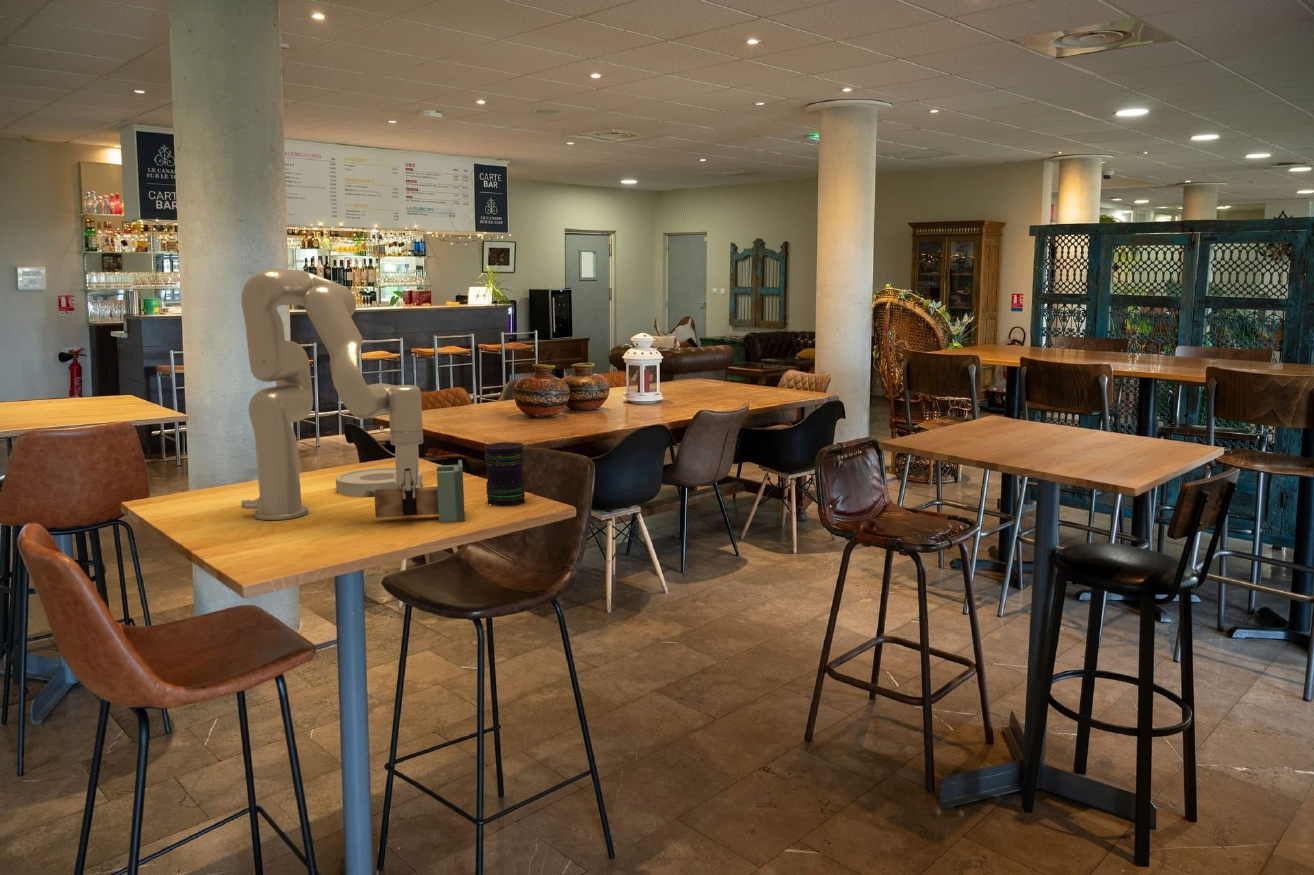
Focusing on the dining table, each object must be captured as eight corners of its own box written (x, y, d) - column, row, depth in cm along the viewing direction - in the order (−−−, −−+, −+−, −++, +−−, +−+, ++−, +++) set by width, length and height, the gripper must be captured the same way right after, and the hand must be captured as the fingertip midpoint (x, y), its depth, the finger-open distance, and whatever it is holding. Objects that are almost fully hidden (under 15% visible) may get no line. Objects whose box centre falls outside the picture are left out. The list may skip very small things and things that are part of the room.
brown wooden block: (375, 517, 230) (373, 484, 229) (376, 514, 234) (374, 481, 233) (448, 513, 234) (446, 481, 232) (448, 510, 238) (446, 477, 236)
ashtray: (320, 490, 271) (319, 476, 270) (393, 477, 288) (392, 464, 287) (365, 502, 255) (364, 487, 255) (439, 488, 272) (438, 474, 272)
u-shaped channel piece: (439, 522, 231) (436, 468, 229) (439, 513, 240) (436, 461, 238) (464, 521, 232) (462, 466, 230) (463, 512, 241) (461, 459, 239)
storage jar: (499, 508, 245) (496, 450, 242) (479, 502, 252) (477, 445, 250) (532, 502, 251) (531, 445, 249) (512, 496, 258) (510, 441, 256)
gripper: (391, 432, 238) (395, 505, 241) (388, 443, 222) (392, 521, 225) (423, 431, 240) (426, 504, 243) (422, 442, 224) (426, 519, 226)
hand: (410, 511), depth 234 cm, fingers closed on brown wooden block, 4 cm apart
